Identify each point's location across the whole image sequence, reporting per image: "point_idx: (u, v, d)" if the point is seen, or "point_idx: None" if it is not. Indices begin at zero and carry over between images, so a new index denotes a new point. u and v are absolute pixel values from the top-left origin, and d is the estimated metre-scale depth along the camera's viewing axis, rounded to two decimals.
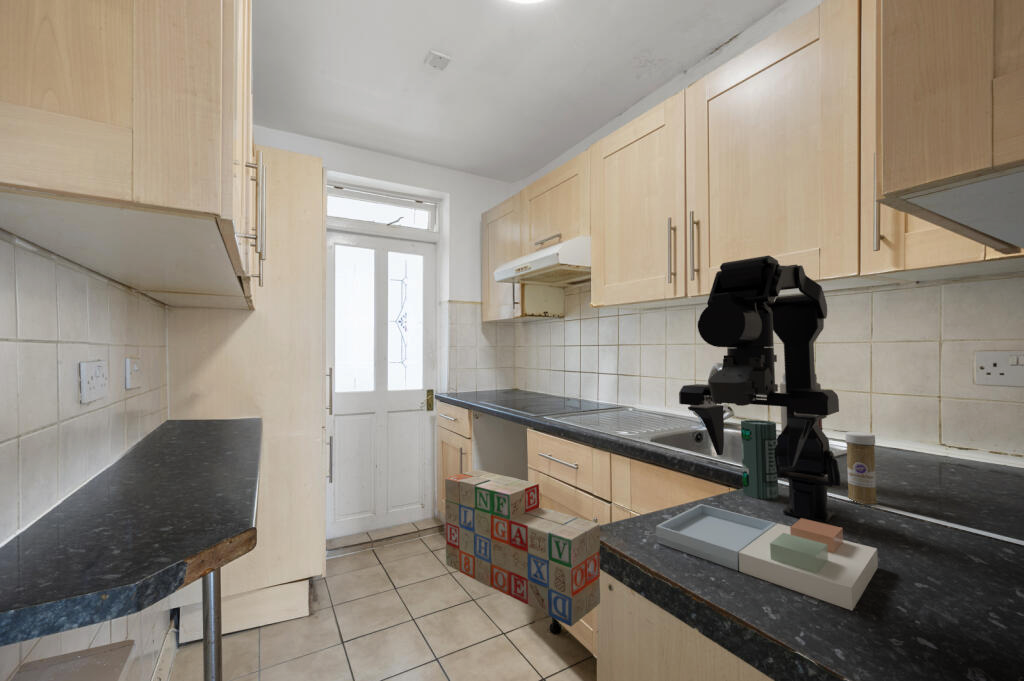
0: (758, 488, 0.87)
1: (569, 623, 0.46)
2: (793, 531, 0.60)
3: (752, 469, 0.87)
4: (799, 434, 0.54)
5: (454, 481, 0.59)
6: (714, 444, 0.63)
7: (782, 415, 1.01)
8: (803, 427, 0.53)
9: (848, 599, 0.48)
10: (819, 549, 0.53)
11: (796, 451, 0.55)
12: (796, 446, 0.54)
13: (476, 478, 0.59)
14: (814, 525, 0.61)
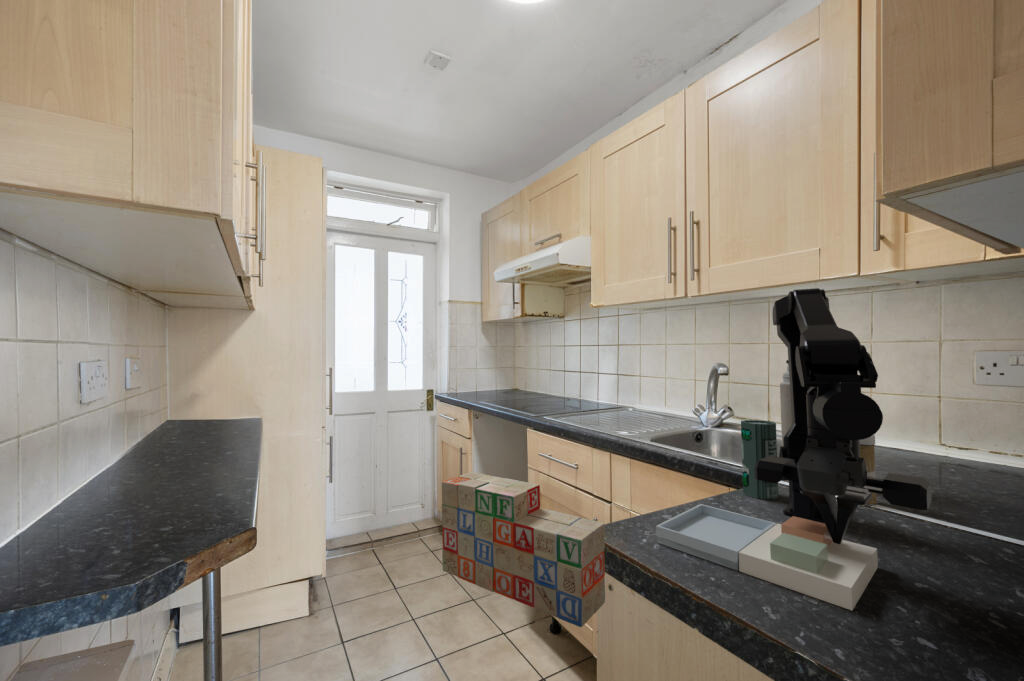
0: (758, 488, 0.87)
1: (579, 624, 0.45)
2: (784, 528, 0.61)
3: (752, 469, 0.87)
4: (847, 514, 0.57)
5: (452, 484, 0.57)
6: (830, 531, 0.58)
7: (782, 415, 1.01)
8: (852, 508, 0.56)
9: (848, 599, 0.48)
10: (819, 549, 0.53)
11: (844, 530, 0.57)
12: (844, 525, 0.57)
13: (474, 481, 0.58)
14: (805, 523, 0.62)
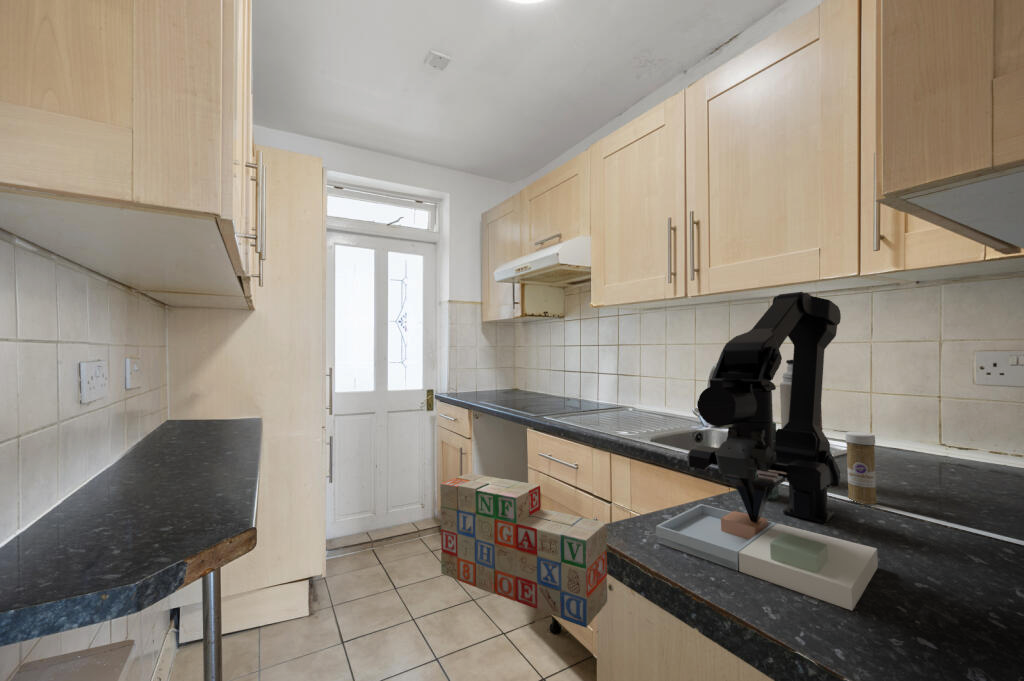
0: None
1: (584, 624, 0.45)
2: (723, 522, 0.68)
3: None
4: (761, 495, 0.64)
5: (451, 486, 0.57)
6: (748, 511, 0.66)
7: (782, 415, 1.01)
8: (765, 490, 0.64)
9: (848, 599, 0.48)
10: (819, 549, 0.53)
11: (759, 509, 0.65)
12: (759, 505, 0.65)
13: (474, 482, 0.57)
14: (743, 517, 0.68)
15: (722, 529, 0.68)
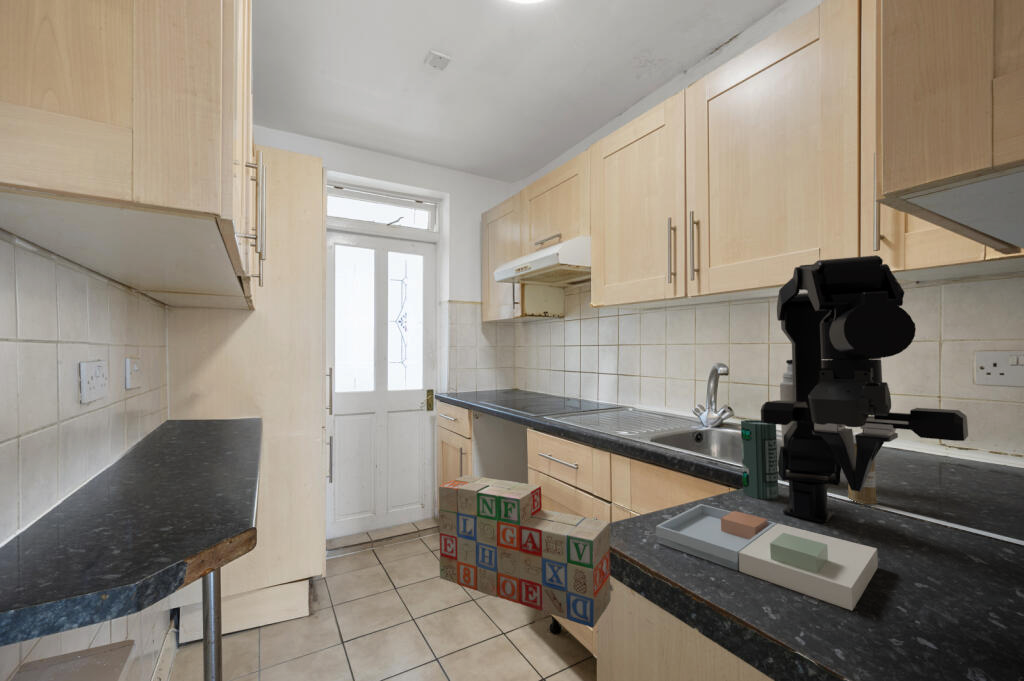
0: (758, 488, 0.87)
1: (591, 624, 0.45)
2: (723, 522, 0.68)
3: (752, 469, 0.87)
4: (868, 455, 0.49)
5: (450, 488, 0.55)
6: (848, 477, 0.51)
7: None
8: (874, 448, 0.49)
9: (848, 599, 0.48)
10: (819, 549, 0.53)
11: (864, 474, 0.50)
12: (865, 468, 0.50)
13: (473, 484, 0.56)
14: (743, 517, 0.68)
15: (722, 529, 0.68)
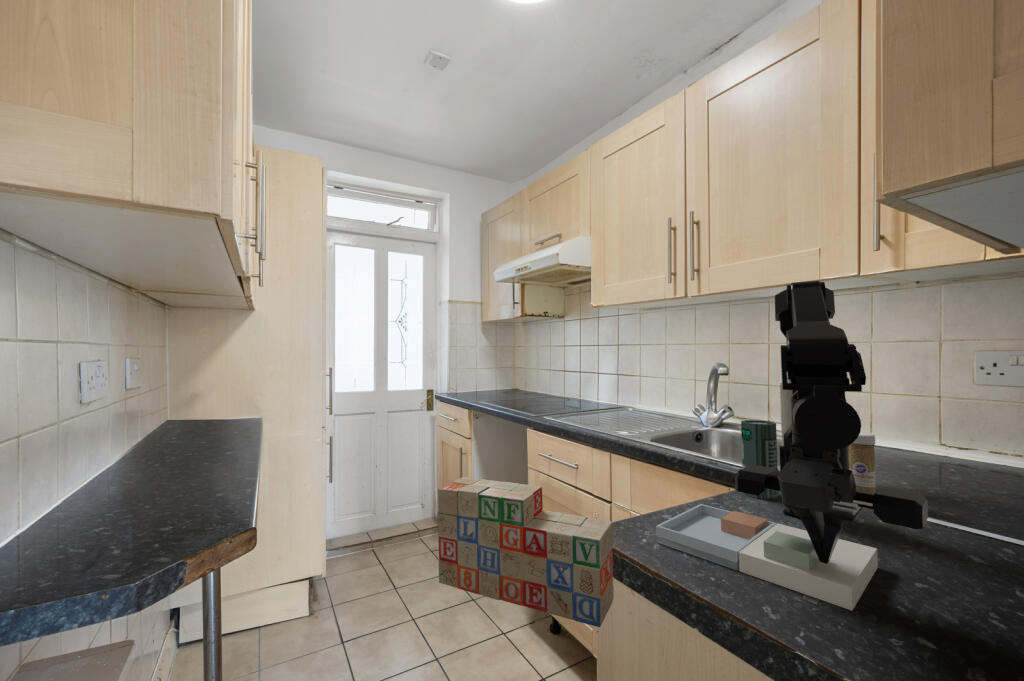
0: None
1: (598, 624, 0.45)
2: (723, 522, 0.68)
3: None
4: (835, 531, 0.51)
5: (450, 491, 0.54)
6: (817, 549, 0.53)
7: (782, 415, 1.01)
8: (840, 525, 0.51)
9: (848, 599, 0.48)
10: (812, 547, 0.54)
11: (831, 548, 0.52)
12: (832, 543, 0.52)
13: (473, 486, 0.55)
14: (743, 517, 0.68)
15: (722, 529, 0.68)
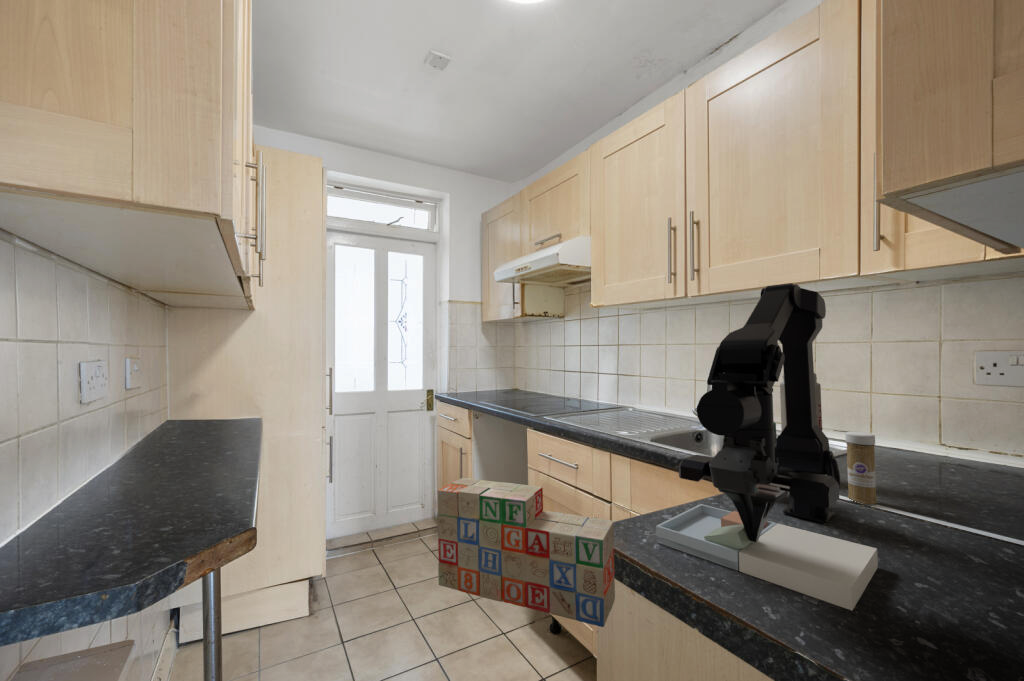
0: None
1: (601, 624, 0.45)
2: (723, 522, 0.68)
3: None
4: (761, 512, 0.57)
5: (450, 492, 0.54)
6: (746, 529, 0.59)
7: (782, 415, 1.01)
8: (765, 506, 0.57)
9: (848, 599, 0.48)
10: (742, 528, 0.60)
11: (759, 528, 0.58)
12: (759, 523, 0.58)
13: (474, 487, 0.55)
14: None
15: None
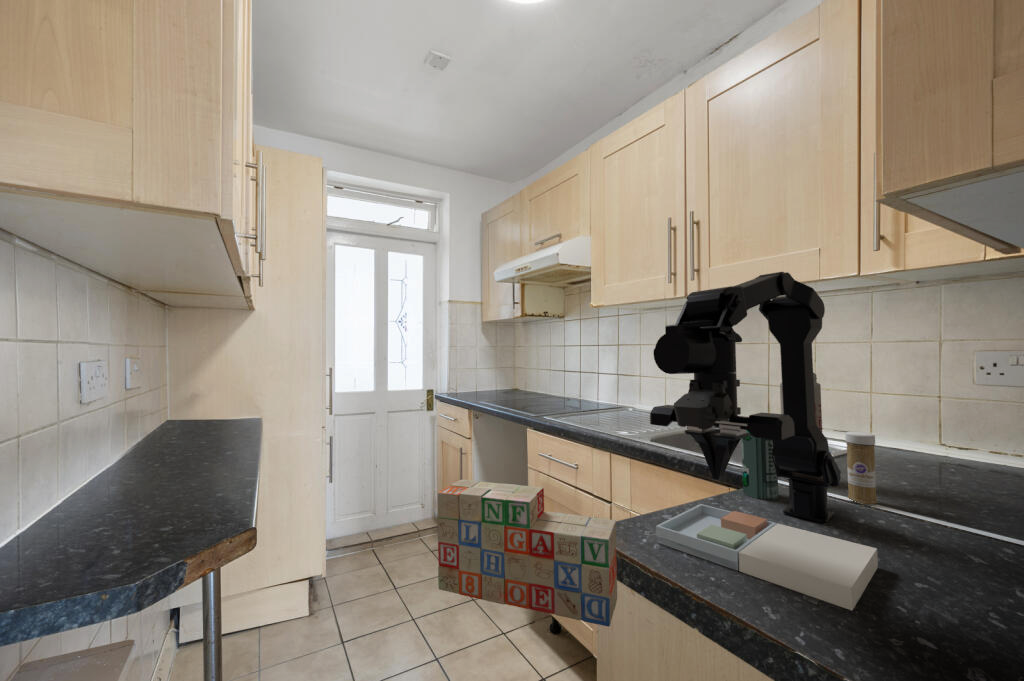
0: (758, 488, 0.87)
1: (607, 624, 0.46)
2: (723, 522, 0.68)
3: (752, 469, 0.87)
4: (723, 451, 0.61)
5: (451, 495, 0.53)
6: (710, 468, 0.63)
7: None
8: (726, 445, 0.60)
9: (848, 599, 0.48)
10: (738, 539, 0.60)
11: (722, 466, 0.62)
12: (721, 461, 0.61)
13: (474, 489, 0.54)
14: (743, 517, 0.68)
15: None
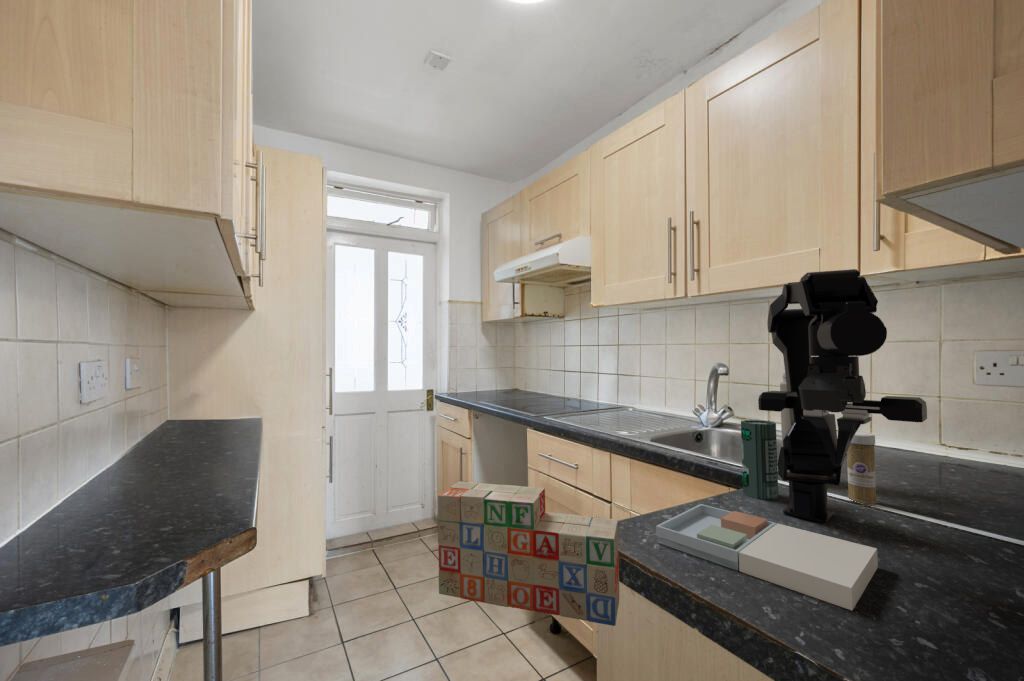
0: (758, 488, 0.87)
1: (613, 623, 0.46)
2: (723, 522, 0.68)
3: (752, 469, 0.87)
4: (847, 435, 0.60)
5: (452, 497, 0.52)
6: (830, 454, 0.61)
7: (782, 415, 1.01)
8: (852, 429, 0.59)
9: (848, 599, 0.48)
10: (738, 539, 0.60)
11: (844, 451, 0.60)
12: (844, 446, 0.60)
13: (475, 490, 0.54)
14: (743, 517, 0.68)
15: None
